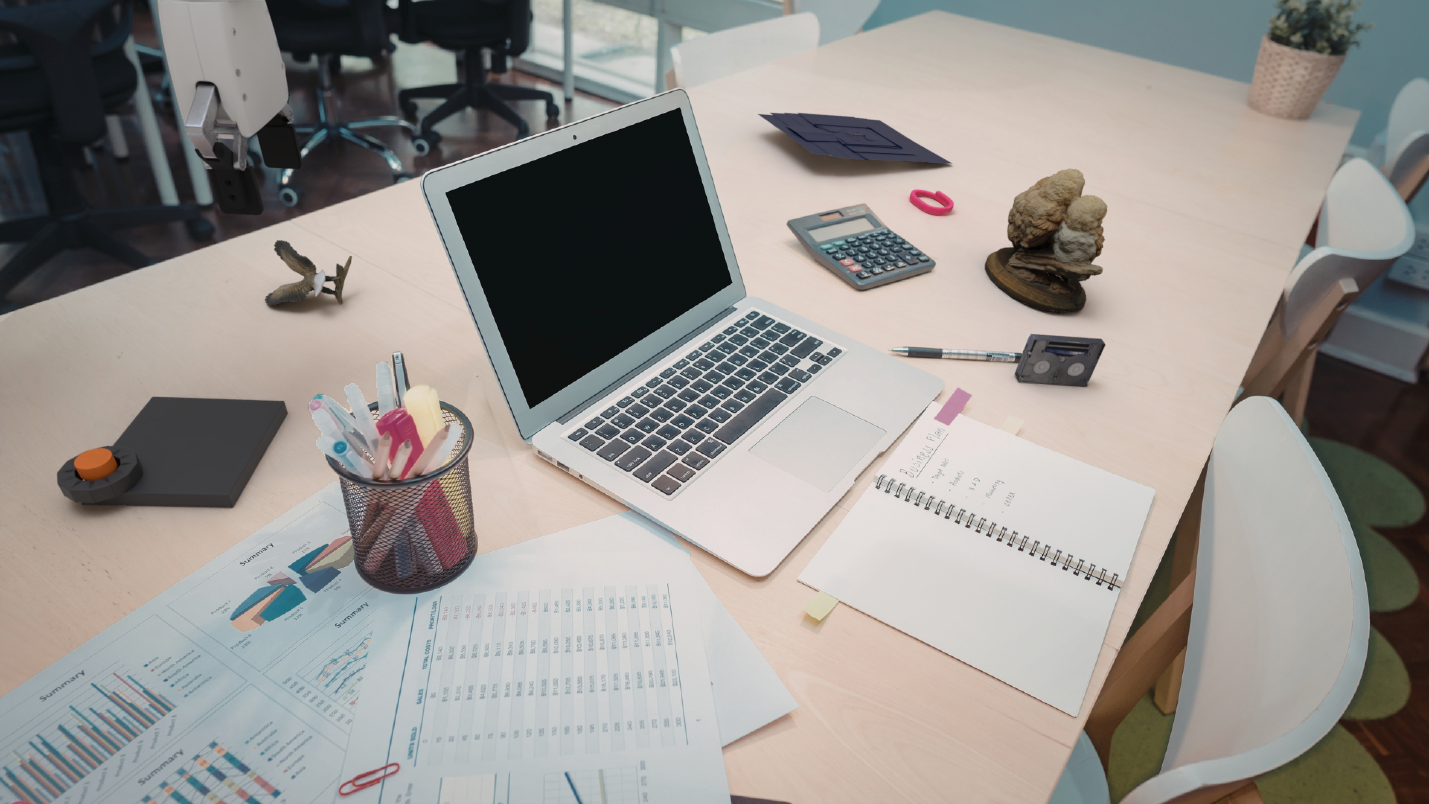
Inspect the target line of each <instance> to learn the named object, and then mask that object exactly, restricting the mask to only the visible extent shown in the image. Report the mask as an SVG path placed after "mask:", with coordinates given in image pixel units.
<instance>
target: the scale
mask: <svg viewBox="0 0 1429 804" xmlns="http://www.w3.org/2000/svg"><path fill="white" fill-rule="evenodd" d="M288 414H289V412H288V408H287V405H286V402H285V400H273V399H272V400H271V399H270V400H267V399H236V398H212V397H211V398H209V397H207V398H206V397H203V398H202V397H177V396H176V397H175V396H173V397H172V396H152V397H150V399H149V400H148V402H147V403H146V404H145V405H144V406H143V407H142V409H141V410H140V411H139V413H137V415H136V416H135V417H134V419H133V420H132V421H131V422H130V424H129V425H128V426H127V427H126V429H124V431H123V432H122V433H121V435H120V436H119V437H118V438H117V439H116V441H115V442H114V443H113V445H104V446H100V447H99V448H104V449H108V450H110V451H111V452H112V454H113V457H114V459H115V461H116V463H117V469H116V471H115V472H113V473H112V474H110V475H108V476H106V477H105V478H101V479H98V480H94V481H86V480H84V479H82V478H81V477H80V475H79V473H78V471H77V469H76V467H75V466H74V461H75V459H76V458H77V457H78V456H79V455H80V454H82V453H84V452H85V451H83V452H80V453H79V454H77V455H76V456H74V457H72V458H70V459H68V460H67V461H65V463H64V464H63V465H62V466H61V467H60V468H59V470H58V471H57V472H56V483H57V486H58V488H59V489H60V491H61V493H62V496H64V497H65V498H67V499H69V500H71V501H72V502H74V503H77V504H78V503H79V504H81V506H113V507H114V506H115V507H116V506H117V507H119V506H120V507H121V506H122V507H162V508H165V507H166V508H168V507H169V508H170V507H172V508H210V509H211V508H215V509H221V508H222V509H234V507H235V506H236V504H237V503H238V501H239V499H240V497H241V495H242V494H243V492H244V491H245V489H246V487H247V485H248V483H249V481H250V480H251V478H252V477H253V475H254V473H255V472H256V469H257V468H258V466H259V464H260V463H261V461H262V459H263V458H264V456H265V454H266V452H267V450H268V449H269V447H270V445H271V444H272V442H273V440H274V438H275V437H276V435H277V433H278V431H279V430H280V428H281V426H282V424H284V423H283V422H285V419H286V417H287V416H288ZM97 448H98V447H96V448H95V449H97Z"/></svg>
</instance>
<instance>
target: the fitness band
mask: <svg viewBox="0 0 1429 804" xmlns="http://www.w3.org/2000/svg"><path fill="white" fill-rule="evenodd" d="M919 197H926V198H931V199H933V200H935V201H937V202H938V203H940V204H941V205H943V206H942V207H940V206H939V207H938V206H933V205H930V204H928V203H926V202H925V201H923V200H922V199H921V198H919ZM909 202H911V204H913V205H914V206H915V207H916V208H918V209H919V210H921V211H922V212H923V213H926V214H929V215H932V216H933V215H934V216H941V215H946V214H948V213H950V212H952V211H953V209H954V206H955V202H954V200H953V199H952V198H951V197H950V196H948V195H946V194H945V193H943V192H942V191H941V190H935V192H933V191H929V190H926V189H913V190H911V191H910V194H909Z"/></svg>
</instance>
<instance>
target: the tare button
mask: <svg viewBox="0 0 1429 804" xmlns="http://www.w3.org/2000/svg"><path fill="white" fill-rule="evenodd" d="M96 448H97V449H96ZM96 448H91V449H88V450H86V451H83V452H84V453H83V452H81V453H82V454H81V453H79V454H80V455H79V454H78V455H79V456H78V457H77V458H76V459H75V461H74V466H75V467H76V469H77V471H78V473H79V475H80V477H81V478H82V479H83V480H86V481H94V480H98V479H101V478H105V477H106V476H108V475H110V474H112V473H113V472H115V471H116V469H117V463H116V461H115V459H114V457H113V454H112V452H111V451H110V450H108V449H104V448H100V447H96Z"/></svg>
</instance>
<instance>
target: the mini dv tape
mask: <svg viewBox="0 0 1429 804" xmlns="http://www.w3.org/2000/svg"><path fill="white" fill-rule="evenodd" d="M1105 347H1106V343H1105V342H1104V340H1103V339H1102V338H1096V337H1085V336H1084V337H1083V336H1067V335H1053V334H1038V333H1030V335H1028V338H1027V340H1026V343H1025V345H1024V348H1023V350H1022V353H1021V356H1020V359H1019V361H1018V363H1017V366H1016V368H1015V371H1014V376H1015V378H1016V380H1017V383H1024V384H1025V383H1026V384H1041V385H1052V386H1069V387H1070V386H1071V387H1081V388H1083V387H1084V388H1086V387H1087V386H1088V384H1089V382H1090V380H1091V378H1092V376H1093V374H1094V371H1095V369H1096V367H1097V365H1098V363H1099V361H1100V359H1101V356H1102V355H1103V351H1104V349H1105Z"/></svg>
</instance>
